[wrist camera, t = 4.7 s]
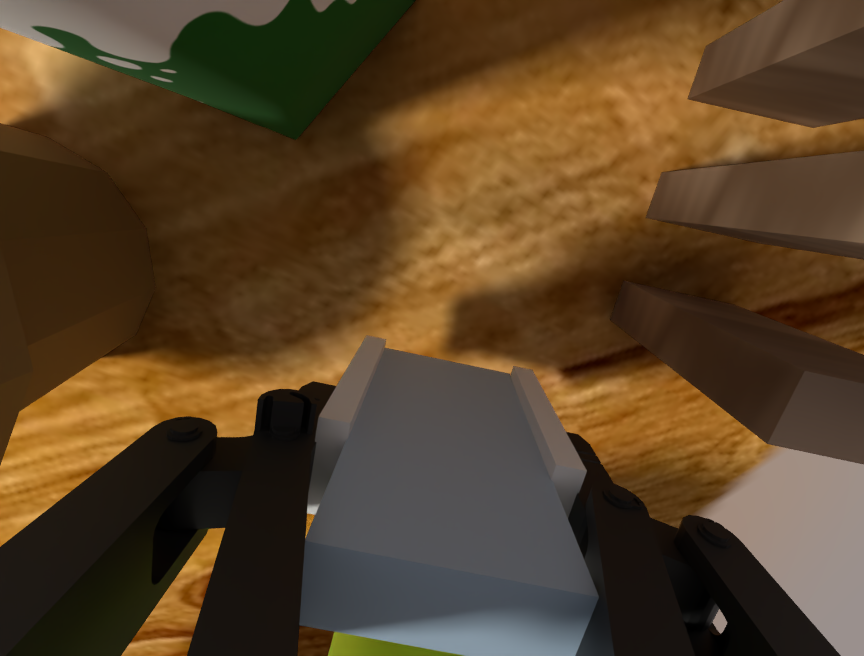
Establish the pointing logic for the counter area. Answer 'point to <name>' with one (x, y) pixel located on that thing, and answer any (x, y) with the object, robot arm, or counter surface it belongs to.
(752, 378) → the domino
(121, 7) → the milk carton
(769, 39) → the domino
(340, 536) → the domino
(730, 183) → the domino
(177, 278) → the counter surface
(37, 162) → the flowerpot
